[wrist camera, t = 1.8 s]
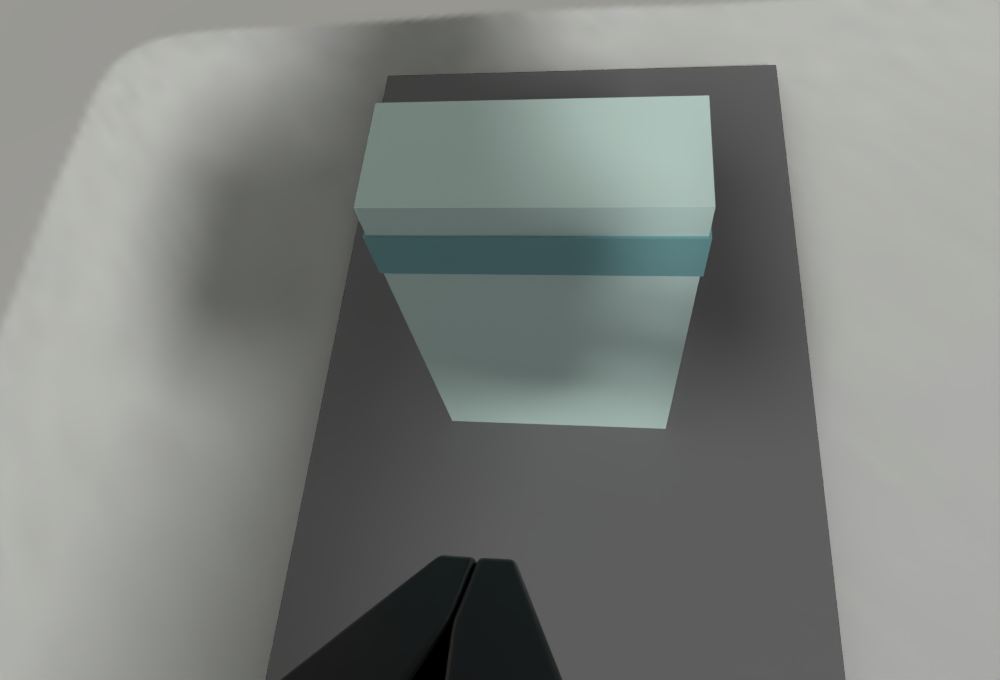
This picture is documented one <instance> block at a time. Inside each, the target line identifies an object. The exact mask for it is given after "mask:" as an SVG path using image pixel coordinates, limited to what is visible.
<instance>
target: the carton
mask: <svg viewBox="0 0 1000 680" xmlns="http://www.w3.org/2000/svg"><path fill="white" fill-rule="evenodd" d="M353 209H354V211H355V213H356V215H357V217H358V219H359V222H360V224H361V226H362V228H363V230H364V234H363V239H364V241H365V243H366V245H367V248H368V250H369V252H370V254H371V256H372V258H373V260H374V262H375V264H376V267H377V269H378V271H379V273H384V275H385V277H386V280H387V282H388V284H389V286H390V288H391V290H392V292H393V295H394V297H395V299H396V301H397V303H398V305H399V308H400V310H401V312H402V314H403V316H404V318H405V320H406V323H407V325H408V327H409V329H410V331H411V333H412V335H413V338H414V340H415V342H416V344H417V346H418V348H419V350H420V353H421V355H422V357H423V359H424V361H425V363H426V366H427V368H428V370H429V372H430V374H431V376H432V378H433V381H434V383H435V385H436V387H437V389H438V391H439V393H440V396H441V398H442V400H443V402H444V404H445V406H446V409H447V411H448V413H449V415H450V417H451V419H452V421H468V422H495V423H522V424H549V425H576V426H603V427H630V428H657V429H666V425H667V420H668V416H669V411H670V407H671V403H672V398H673V394H674V389H675V385H676V380H677V376H678V371H679V367H680V363H681V358H682V354H683V349H684V345H685V340H686V336H687V332H688V327H689V323H690V318H691V314H692V309H693V305H694V300H695V296H696V292H697V287H698V283H699V278H700V276H704V272H705V267H706V263H707V259H708V254H709V250H710V246H711V242H712V226H711V225H712V221H713V216H714V212H715V190H714V172H713V154H712V137H711V119H710V102H709V95H705V96H661V97H616V98H572V99H528V100H483V101H439V102H395V103H375V107H374V112H373V116H372V121H371V126H370V131H369V135H368V140H367V145H366V150H365V155H364V159H363V164H362V169H361V174H360V179H359V183H358V188H357V193H356V198H355V203H354V207H353Z"/></svg>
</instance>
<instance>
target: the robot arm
mask: <svg viewBox="0 0 1000 680" xmlns="http://www.w3.org/2000/svg"><path fill="white" fill-rule="evenodd" d="M279 680H562V677H561V675H560V672H559V669H558V667H557V664H556V662H555V659H554V657H553V654H552V652H551V649H550V647H549V644H548V642H547V639H546V636H545V634H544V631H543V629H542V626H541V624H540V621H539V619H538V616H537V614H536V611H535V609H534V606H533V603H532V601H531V598H530V596H529V593H528V591H527V588H526V586H525V583H524V581H523V578H522V576H521V573H520V570H519V568H518V565H517V564H516V562H515V561H514V560H511V559H498V558H481V559H479V560H478V561H477V562H476V560H475V559H474V558H473V557H465V556H449V555H441V556H439V557H437V558H435V559H434V560H433V561H431V562H430V563H429V564H427V565H426V566H425V567H424V568H422V569H421V570H420V571H418V572H417V573H416V574H414V575H413V576H412V577H411V578H409V579H408V580H407V581H405V582H404V583H403V584H402V585H400V586H399V587H398V588H396V589H395V590H394V591H393V592H391V593H390V594H389V595H387V596H386V597H385V598H384V599H382V600H381V601H380V602H378V603H377V604H376V605H374V606H373V607H372V608H371V609H369V610H368V611H367V612H365V613H364V614H363V615H362V616H360V617H359V618H358V619H356V620H355V621H354V622H353V623H351V624H350V625H349V626H347V627H346V628H345V629H344V630H342V631H341V632H340V633H338V634H337V635H336V636H334V637H333V638H332V639H331V640H329V641H328V642H327V643H325V644H324V645H323V646H322V647H320V648H319V649H318V650H316V651H315V652H314V653H313V654H311V655H310V656H309V657H307V658H306V659H305V660H304V661H302V662H301V663H300V664H298V665H297V666H296V667H294V668H293V669H292V670H291V671H289V672H288V673H287V674H285V675H284V676H283V677H282V678H280V679H279Z"/></svg>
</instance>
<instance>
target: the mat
mask: <svg viewBox="0 0 1000 680" xmlns="http://www.w3.org/2000/svg"><path fill="white" fill-rule="evenodd" d="M705 95H709V102H710V119H711V137H712V154H713V172H714V190H715V212H714V216H713V221H712V225H711V226H712V242H711V246H710V250H709V254H708V259H707V263H706V267H705V272H704V276H700V278H699V283H698V287H697V292H696V296H695V300H694V305H693V309H692V314H691V318H690V323H689V327H688V332H687V336H686V340H685V345H684V349H683V354H682V358H681V363H680V367H679V371H678V376H677V380H676V385H675V389H674V394H673V398H672V403H671V407H670V411H669V416H668V420H667V425H666V429H657V428H630V427H603V426H576V425H549V424H522V423H495V422H468V421H452V419H451V417H450V415H449V413H448V411H447V409H446V406H445V404H444V402H443V400H442V398H441V396H440V393H439V391H438V389H437V387H436V385H435V383H434V381H433V378H432V376H431V374H430V372H429V370H428V368H427V366H426V363H425V361H424V359H423V357H422V355H421V353H420V350H419V348H418V346H417V344H416V342H415V340H414V338H413V335H412V333H411V331H410V329H409V327H408V325H407V323H406V320H405V318H404V316H403V314H402V312H401V310H400V308H399V305H398V303H397V301H396V299H395V297H394V295H393V292H392V290H391V288H390V286H389V284H388V282H387V280H386V277H385V275H384V273H379V271H378V269H377V267H376V264H375V262H374V260H373V258H372V256H371V254H370V252H369V250H368V248H367V245H366V243H365V241H364V239H363V234H364V230H363V228H362V226H361V224H360V222H358V227H357V232H356V237H355V241H354V246H353V251H352V256H351V261H350V266H349V271H348V276H347V281H346V286H345V291H344V296H343V301H342V306H341V310H340V315H339V320H338V325H337V330H336V335H335V340H334V345H333V350H332V355H331V360H330V365H329V370H328V375H327V379H326V384H325V389H324V394H323V399H322V404H321V409H320V414H319V419H318V424H317V429H316V434H315V439H314V444H313V448H312V453H311V458H310V463H309V468H308V473H307V478H306V483H305V488H304V493H303V498H302V503H301V508H300V513H299V517H298V522H297V527H296V532H295V537H294V542H293V547H292V552H291V557H290V562H289V567H288V572H287V577H286V582H285V586H284V591H283V596H282V601H281V606H280V611H279V616H278V621H277V626H276V631H275V636H274V641H273V646H272V651H271V655H270V660H269V665H268V670H267V675H266V680H279V679H280V678H282V677H283V676H284V675H285V674H287V673H288V672H289V671H291V670H292V669H293V668H294V667H296V666H297V665H298V664H300V663H301V662H302V661H304V660H305V659H306V658H307V657H309V656H310V655H311V654H313V653H314V652H315V651H316V650H318V649H319V648H320V647H322V646H323V645H324V644H325V643H327V642H328V641H329V640H331V639H332V638H333V637H334V636H336V635H337V634H338V633H340V632H341V631H342V630H344V629H345V628H346V627H347V626H349V625H350V624H351V623H353V622H354V621H355V620H356V619H358V618H359V617H360V616H362V615H363V614H364V613H365V612H367V611H368V610H369V609H371V608H372V607H373V606H374V605H376V604H377V603H378V602H380V601H381V600H382V599H384V598H385V597H386V596H387V595H389V594H390V593H391V592H393V591H394V590H395V589H396V588H398V587H399V586H400V585H402V584H403V583H404V582H405V581H407V580H408V579H409V578H411V577H412V576H413V575H414V574H416V573H417V572H418V571H420V570H421V569H422V568H424V567H425V566H426V565H427V564H429V563H430V562H431V561H433V560H434V559H435V558H437V557H439V556H441V555H449V556H465V557H473V558H474V559H475V560H476V562H477V561H478V560H479V559H481V558H498V559H511V560H514V561H515V562H516V564H517V565H518V568H519V570H520V573H521V576H522V578H523V581H524V583H525V586H526V588H527V591H528V593H529V596H530V598H531V601H532V603H533V606H534V609H535V611H536V614H537V616H538V619H539V621H540V624H541V626H542V629H543V631H544V634H545V636H546V639H547V642H548V644H549V647H550V649H551V652H552V654H553V657H554V659H555V662H556V664H557V667H558V669H559V672H560V675H561V677H562V680H845V672H844V663H843V655H842V646H841V637H840V628H839V619H838V610H837V601H836V593H835V584H834V575H833V566H832V557H831V548H830V539H829V531H828V522H827V513H826V504H825V495H824V486H823V477H822V469H821V460H820V451H819V442H818V433H817V424H816V415H815V407H814V398H813V389H812V380H811V371H810V362H809V353H808V345H807V336H806V327H805V318H804V309H803V300H802V291H801V283H800V274H799V265H798V256H797V247H796V238H795V229H794V221H793V212H792V203H791V194H790V185H789V176H788V167H787V159H786V150H785V141H784V132H783V123H782V114H781V105H780V97H779V88H778V79H777V70H776V65H764V66H727V67H691V68H655V69H619V70H582V71H546V72H510V73H474V74H437V75H401V76H388V79H387V84H386V89H385V94H384V99H383V103H395V102H439V101H483V100H528V99H572V98H616V97H661V96H705Z"/></svg>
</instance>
